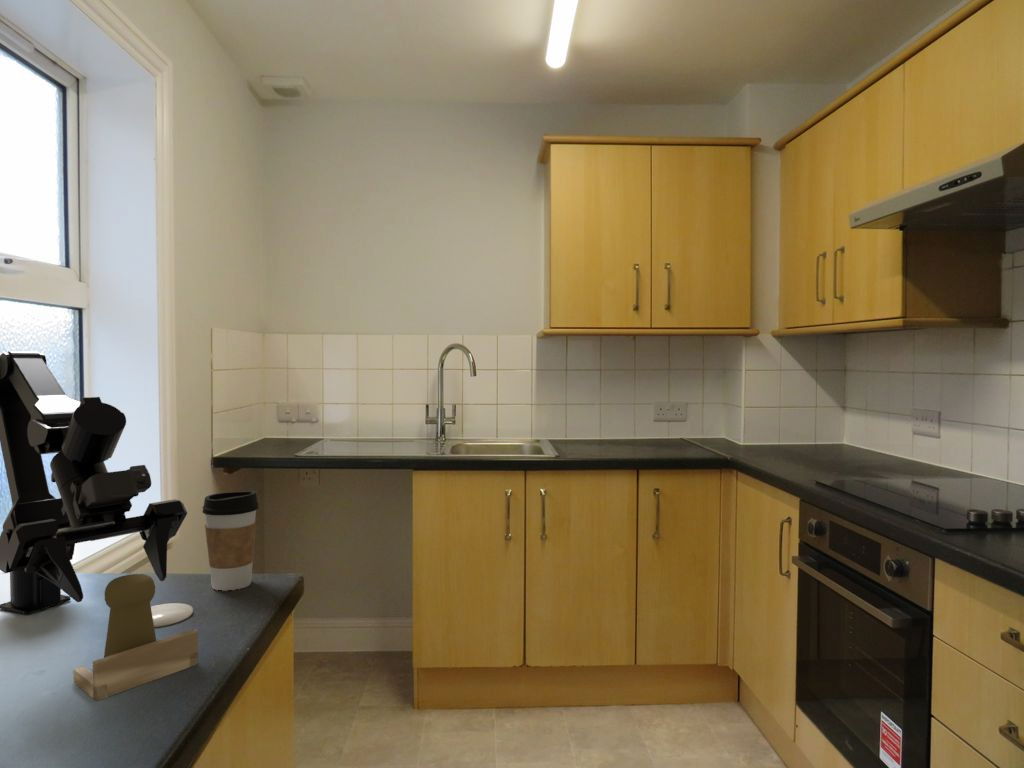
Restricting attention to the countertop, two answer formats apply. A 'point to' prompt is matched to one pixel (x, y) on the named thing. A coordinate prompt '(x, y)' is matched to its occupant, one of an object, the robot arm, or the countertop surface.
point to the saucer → (170, 613)
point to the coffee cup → (230, 538)
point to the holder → (138, 665)
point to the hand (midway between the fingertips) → (124, 589)
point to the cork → (129, 613)
